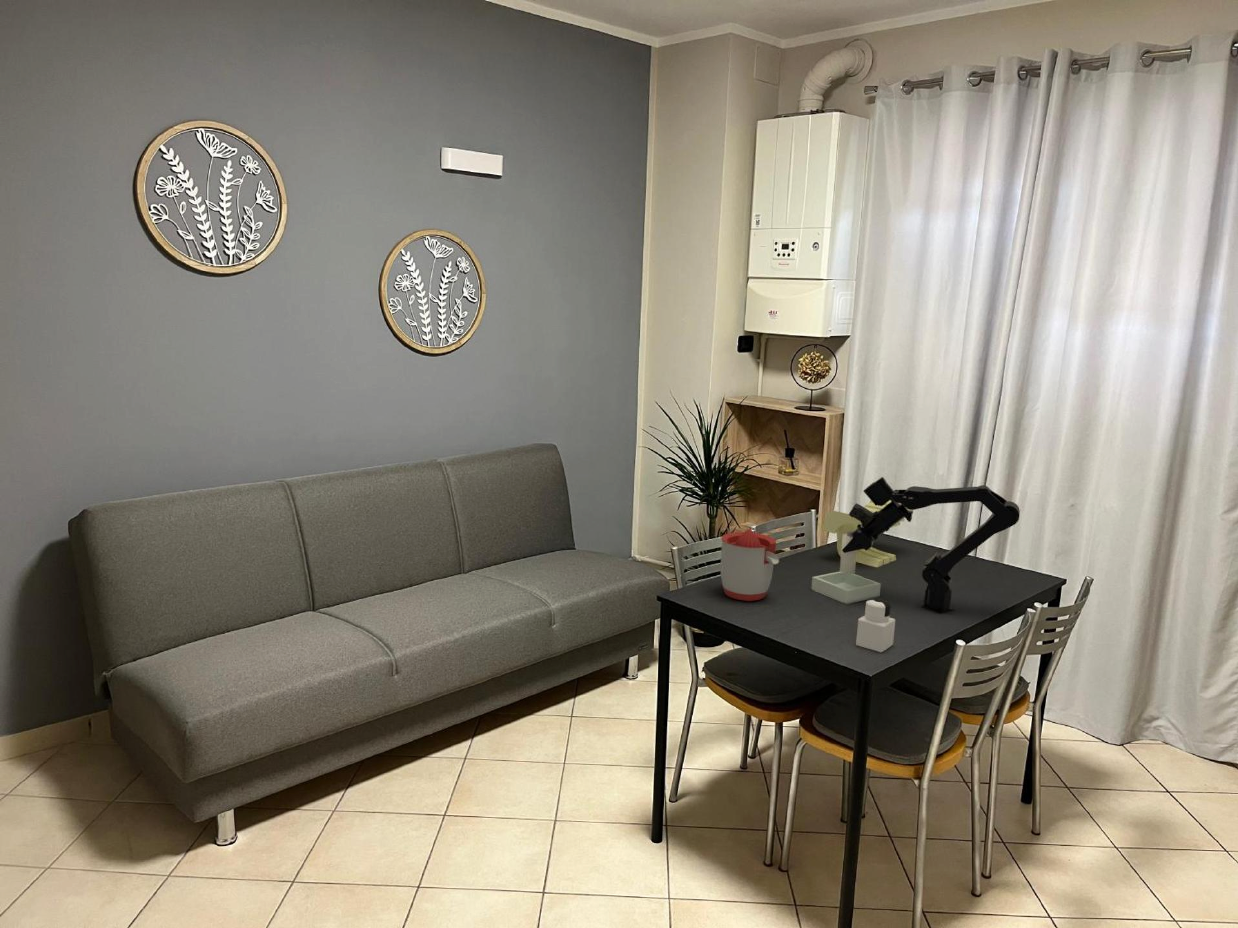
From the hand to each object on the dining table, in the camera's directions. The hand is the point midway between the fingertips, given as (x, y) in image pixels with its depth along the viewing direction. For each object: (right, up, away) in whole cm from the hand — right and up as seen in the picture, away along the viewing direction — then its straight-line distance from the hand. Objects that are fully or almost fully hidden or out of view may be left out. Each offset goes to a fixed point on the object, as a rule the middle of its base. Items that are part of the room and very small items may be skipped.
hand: (844, 549), depth 274 cm
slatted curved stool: (+16, -7, +39) cm, 43 cm away
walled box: (+1, -13, +2) cm, 13 cm away
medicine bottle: (-1, -21, -37) cm, 43 cm away
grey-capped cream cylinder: (+1, -7, +1) cm, 7 cm away
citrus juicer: (-29, -13, -4) cm, 32 cm away
